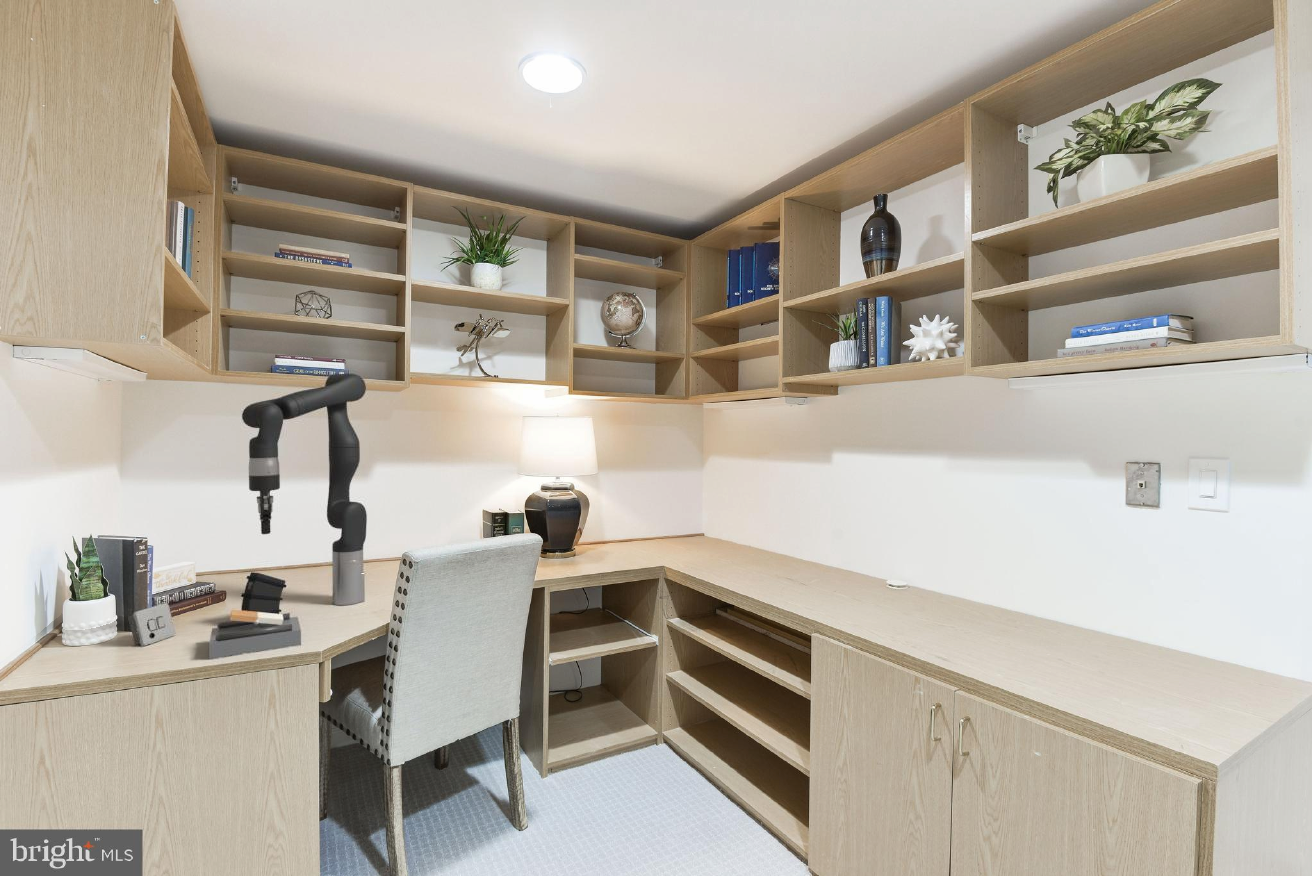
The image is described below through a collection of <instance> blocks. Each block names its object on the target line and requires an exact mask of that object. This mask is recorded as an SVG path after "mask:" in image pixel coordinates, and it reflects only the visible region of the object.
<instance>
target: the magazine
mask: <svg viewBox="0 0 1312 876" xmlns="http://www.w3.org/2000/svg"><path fill="white" fill-rule="evenodd" d="M246 579H247V583H246V585H245V588H244V592H243V593H241V595H240V597H241V598H242V603H241V608H240V610H242V611H253V612H263V613H274V614H280V613H281V612H282V609H280V605H281V601H283V599H284V598H283V597H282V593H283V590H284V588H287V584H286V580H284V579H281V578H277V577H273V576H271V575H268V574H264V573H260V572H254V571H251V572H250V574H249V575H247V576H246Z"/></svg>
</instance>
